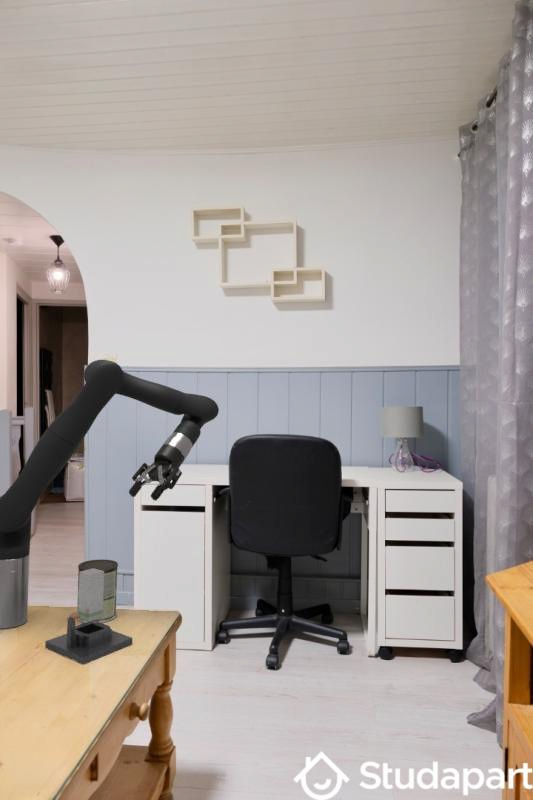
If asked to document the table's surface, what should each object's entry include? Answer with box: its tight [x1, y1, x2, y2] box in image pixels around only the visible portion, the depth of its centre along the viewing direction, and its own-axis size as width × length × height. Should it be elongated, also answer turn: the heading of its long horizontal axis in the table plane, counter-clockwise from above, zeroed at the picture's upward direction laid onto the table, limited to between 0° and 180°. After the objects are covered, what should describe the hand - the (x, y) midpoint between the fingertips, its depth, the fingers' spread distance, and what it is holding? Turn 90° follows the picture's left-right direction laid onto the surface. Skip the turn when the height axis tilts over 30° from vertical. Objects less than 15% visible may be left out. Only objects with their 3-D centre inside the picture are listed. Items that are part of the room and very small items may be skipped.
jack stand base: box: [44, 612, 133, 665], centre depth 135 cm, size 14×14×8 cm
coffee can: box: [76, 559, 119, 624], centre depth 154 cm, size 10×10×14 cm
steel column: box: [77, 568, 104, 622], centre depth 135 cm, size 4×4×11 cm
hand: (142, 496), depth 153 cm, fingers open, 8 cm apart
